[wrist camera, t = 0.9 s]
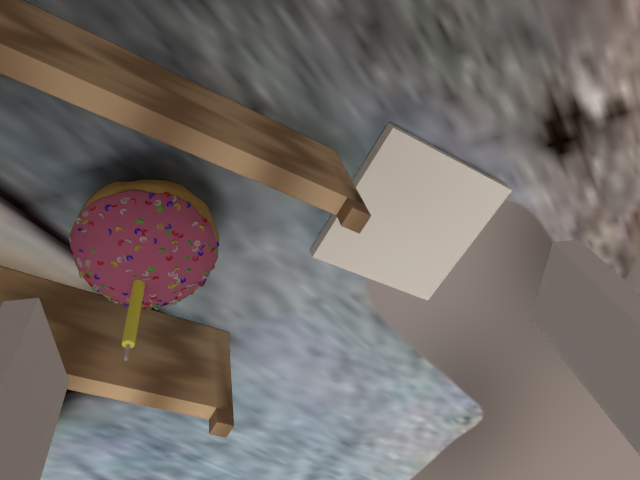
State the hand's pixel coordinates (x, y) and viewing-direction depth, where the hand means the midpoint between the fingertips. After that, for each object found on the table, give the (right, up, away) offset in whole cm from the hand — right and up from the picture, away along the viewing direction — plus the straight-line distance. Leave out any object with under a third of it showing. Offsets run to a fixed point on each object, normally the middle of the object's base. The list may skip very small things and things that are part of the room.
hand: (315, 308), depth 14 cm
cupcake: (-11, +4, +22) cm, 25 cm away
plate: (+7, +3, +26) cm, 27 cm away
